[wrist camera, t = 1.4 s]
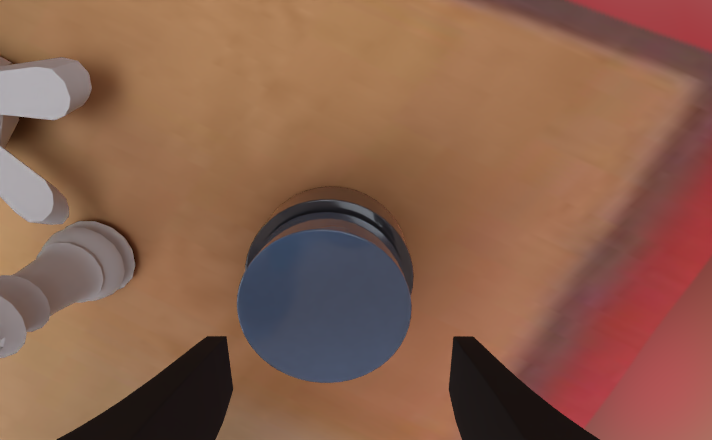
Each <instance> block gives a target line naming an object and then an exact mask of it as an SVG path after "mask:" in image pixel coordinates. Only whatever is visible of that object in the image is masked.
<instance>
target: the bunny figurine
mask: <svg viewBox="0 0 712 440" xmlns="http://www.w3.org/2000/svg"><path fill="white" fill-rule="evenodd" d="M91 90H92V87H91V82H90V76H89V73H88V71H87V70H86V69H85V68H84V67H83V66H82V65H81V64H80V63H79V61H76V60H72V59H68V58H64V57H60V58H53V59H46V60H39V61H32V62H26V63H19V64H12V63H11V62H9V61H8V60H6V59H4V58H2V57H0V197H1V198H2V199H3V200H4V201H5V202H6V203H7V204H8V205H9V206H10V207H11V208H12V209H13V210H14V211H15V212H16V213H17V214H18V215H20V216H21V217H22V218H24V219H25V220H26V221H28V222H32V223H41V224H51V225H52V224H63V223H64V222H65V220H66V219H67V218H68V217H69V207H68V203H67V200H66V198H65V197H64V196H63V195H62V194H61V193H60V191H59V190H58V189H57V188H56V187H54V186H53V185H52V184H50V183H49V182H48V181H46V180H45V179H44V178H42V177H41V176H40V175H38V174H37V173H36V172H34V171H33V170H32V169H31V168H29V167H28V166H27V165H25V164H24V163H23V162H21V161H20V160H19V159H17V158H16V157H15V156H13V155H12V154H11V153H10V152H8V151H7V150H6V149H4V148H5V146H6V145H7V143H8V141H9V139H10V137H11V135H12V133H13V131H14V129H15V127H16V125H17V123H18V121H19V117H29V118H38V119H47V120H56V119H58V118H61V117H63V116H65V115H67V114H69V113H70V112H72V111H74V110H76V109H78V108H79V107H81V106H83V104H84V103H85V102H86V101H87V99H88V98H89V95H90V92H91Z"/></svg>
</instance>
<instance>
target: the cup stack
mask: <svg viewBox="0 0 712 440" xmlns="http://www.w3.org/2000/svg"><path fill="white" fill-rule="evenodd" d="M413 277H414V275H413V265H412V261H411V257H410V253H409V251H408V248H407V245H406V242H405V239H404V236H403V233H402V231H401V228H400V227H399V225H398V223H397V221H396V220H395V219H394V217H393V216H392V215H391V213H390V212H389V211H388V210H387V209H386V208H385V207H384V206H383V205H381V204H380V203H379V202H377V201H376V200H375V199H373V198H371V197H370V196H368V195H366V194H363V193H361V192H359V191H356V190H352V189H348V188H342V187H320V188H314V189H310V190H306V191H304V192H301V193H299V194H297V195H295V196H293V197H291V198H290V199H288V200H287V201H285V202H284V203H283V204H281V205H280V206H279V207H278V208H277V209H276V210H275V211H274V212H273V214H272V215H271V216H270V218H269V219H268V220H267V222H266V223H265V224H264V225H263V227H262V228H261V229H260V231H259V232H258V234H257V235H256V236H255V238H254V240H253V242H252V244H251V246H250V249H249V252H248V254H247V259H246V264H245V272H244V274H243V276H242V279H241V282H240V285H239V289H238V294H237V312H238V318H239V322H240V326H241V328H242V331H243V333H244V335H245V337H246V339H247V341H248V342H249V344H250V345H251V347H252V348H253V349H254V350H255V352H256V353H257V354H258V355H259V356H260V357H261V358H262V359H263V360H265V361H266V362H267V363H268V364H270V365H271V366H272V367H274V368H276V369H277V370H279V371H281V372H283V373H285V374H287V375H289V376H292V377H295V378H298V379H301V380H306V381H310V382H319V383H334V382H343V381H348V380H352V379H355V378H358V377H361V376H364V375H366V374H368V373H370V372H372V371H374V370H375V369H377V368H378V367H380V366H381V365H382V364H384V363H385V362H386V361H387V360H389V358H390V357H391V356H392V355H393V354H394V353H395V352H396V351H397V349H398V348H399V347H400V345H401V343H402V342H403V340H404V338H405V336H406V333H407V331H408V328H409V324H410V319H411V309H412V305H411V293H412V288H413Z"/></svg>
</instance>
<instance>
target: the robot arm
mask: <svg viewBox="0 0 712 440" xmlns="http://www.w3.org/2000/svg"><path fill="white" fill-rule="evenodd" d="M232 391H233V384H232V376H231V368H230V361H229V353H228V345H227V337H226V336H207V337H206V338H204V339H203V340H202V341H200V342H199V343H198V344H196V345H195V346H194V347H192V348H191V349H190V350H189V351H187V352H186V353H185V354H184V355H182V356H181V357H180V358H178V359H177V360H176V361H175V362H173V363H172V364H171V365H169V366H168V367H167V368H165V369H164V370H163V371H162V372H160V373H159V374H158V375H156V376H155V377H154V378H152V379H151V380H150V381H148V382H147V383H145V384H144V385H143V386H141V387H140V388H138V389H137V390H136V391H134V392H133V393H131V394H130V395H129V396H127V397H126V398H124V399H123V400H121V401H120V402H118V403H117V404H115V405H114V406H112V407H111V408H109V409H108V410H106V411H105V412H103V413H102V414H100V415H98V416H97V417H95V418H93V419H92V420H90V421H88V422H87V423H85V424H84V425H82V426H80V427H78V428H77V429H75V430H73V431H71V432H70V433H68V434H66V435H64V436H62V437H60V438H59V439H57V440H215V439H216V437H217V435H218V432H219V430H220V428H221V426H222V423H223V421H224V418H225V415H226V411H227V408H228V405H229V402H230V398H231V395H232ZM449 393H450V397H451V402H452V407H453V411H454V415H455V419H456V423H457V426H458V429H459V432H460V435H461V438H462V440H600V439H598V438H596V437H595V436H593V435H592V434H590V433H589V432H587V431H586V430H584V429H583V428H581V427H580V426H579V425H577V424H576V423H574V422H573V421H571V420H570V419H569V418H567V417H566V416H564V415H563V414H562V413H560V412H559V411H558V410H556V409H555V408H554V407H552V406H551V405H550V404H548V403H547V402H546V401H545V400H543V399H542V398H541V397H540V396H538V395H537V394H536V393H535V392H533V391H532V390H531V389H530V388H529V387H527V386H526V385H525V384H524V383H523V382H522V381H520V380H519V379H518V378H517V377H516V376H515V375H514V374H513V373H511V372H510V371H509V370H508V369H507V368H506V367H505V366H504V365H503V364H502V363H501V362H499V361H498V360H497V359H496V358H495V357H494V356H493V355H492V354H491V353H490V352H489V351H488V350H487V349H486V348H485V347H484V346H483V345H482V344H481V343H479V342H478V341H477V340H476V339H475V338H474V337H454V338H453V349H452V360H451V371H450V382H449Z"/></svg>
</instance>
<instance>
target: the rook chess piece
mask: <svg viewBox="0 0 712 440" xmlns="http://www.w3.org/2000/svg"><path fill="white" fill-rule="evenodd" d="M134 268H135V261H134V256H133V251H132V248H131V246H130V245H129V243H128V242H127V240H126V239H125V237H123V236H122V235H121V234H120V233H118V232H117V231H116V230H115V229H113V228H111V227H109V226H106V225H104V224H101V223H98V222H96V221H78V222H76V223H74V224H71V225H69V226H67V227H65V229H63V230H61V231H59V232H56V233H54V234H53V235H52V236H51V237H50V238H49V240H48V241H47V242H46V243H45V244H44V246H43V247H42V250H41V252H40V253H39V254H38V255H37V258H36V260H34V261H33V262H31V263H30V264H28V265H27V266H26V267H24V268H23V269H21V270H20V271H18V272H17V273H15V274H13V275H11V276H7V275H2V276H0V358H5V357H7V356H10V355H12V354H15V353H17V352H18V351H19V349H20V348H21V347H22V346H23V345H24V344H25V339H26V334H27V332H32V331H35V330H37V329H40V328H42V327H43V326H44V325H45V324H46V323H47V321H48V320H49V317H50V316H51V315H53V314H54V313H56V312H57V311H59V310H61V309H63V308H65V307H67V306H69V305H71V304H73V303H75V302H86V301H96V300H99V299H101V298H104V297H107V296H109V295H112V294H113V293H114V292H115V291H116V290H118V289H121V288H123V287H124V286H125V285H126V284H127V283H128V282H129V281H130V280H131V279H132V276H133V272H134Z"/></svg>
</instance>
